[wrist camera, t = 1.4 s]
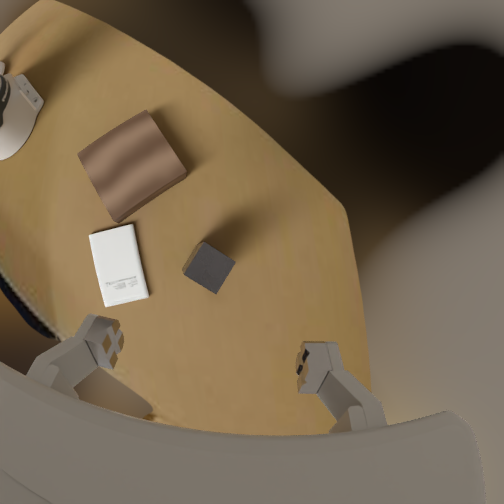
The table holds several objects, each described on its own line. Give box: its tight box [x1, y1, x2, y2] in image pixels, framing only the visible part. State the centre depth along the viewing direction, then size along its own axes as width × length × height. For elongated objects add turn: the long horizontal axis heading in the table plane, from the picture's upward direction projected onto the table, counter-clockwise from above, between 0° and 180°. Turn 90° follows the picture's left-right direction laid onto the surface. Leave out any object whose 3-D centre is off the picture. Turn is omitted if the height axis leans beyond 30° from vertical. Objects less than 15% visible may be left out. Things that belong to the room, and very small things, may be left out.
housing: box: [182, 242, 236, 294], centre depth 40 cm, size 5×5×11 cm
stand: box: [77, 110, 187, 223], centre depth 40 cm, size 14×14×4 cm
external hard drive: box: [89, 224, 149, 307], centre depth 41 cm, size 2×8×12 cm
